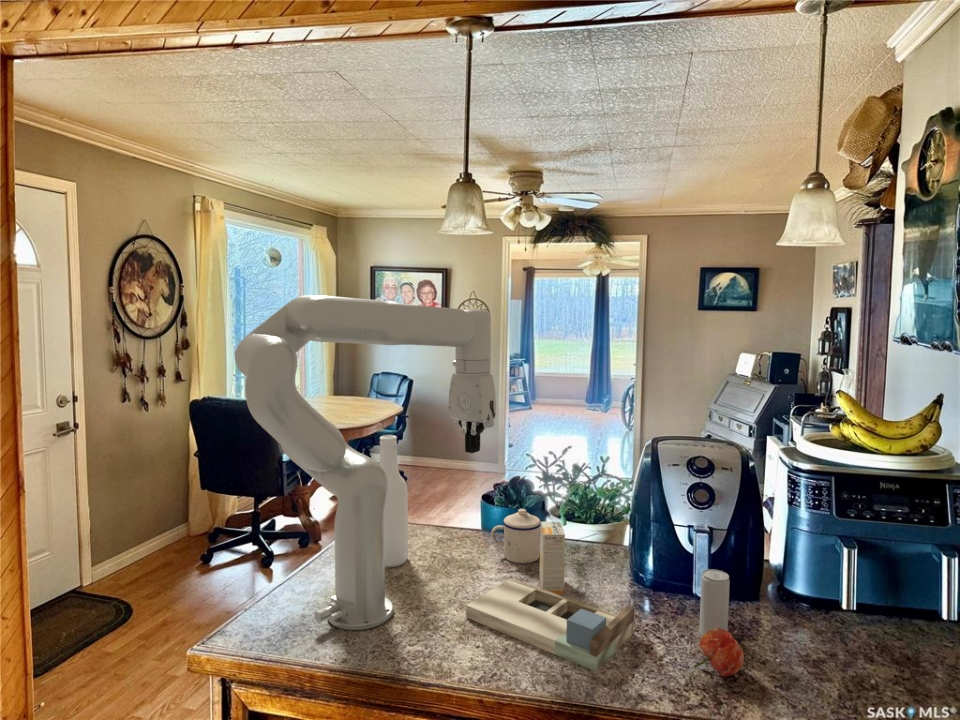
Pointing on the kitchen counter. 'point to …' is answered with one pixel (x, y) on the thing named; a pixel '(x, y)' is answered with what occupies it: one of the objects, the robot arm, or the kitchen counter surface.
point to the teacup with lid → (520, 537)
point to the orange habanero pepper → (722, 651)
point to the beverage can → (714, 600)
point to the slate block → (584, 628)
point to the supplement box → (552, 557)
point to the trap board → (549, 621)
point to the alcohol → (394, 505)
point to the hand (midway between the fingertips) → (472, 451)
